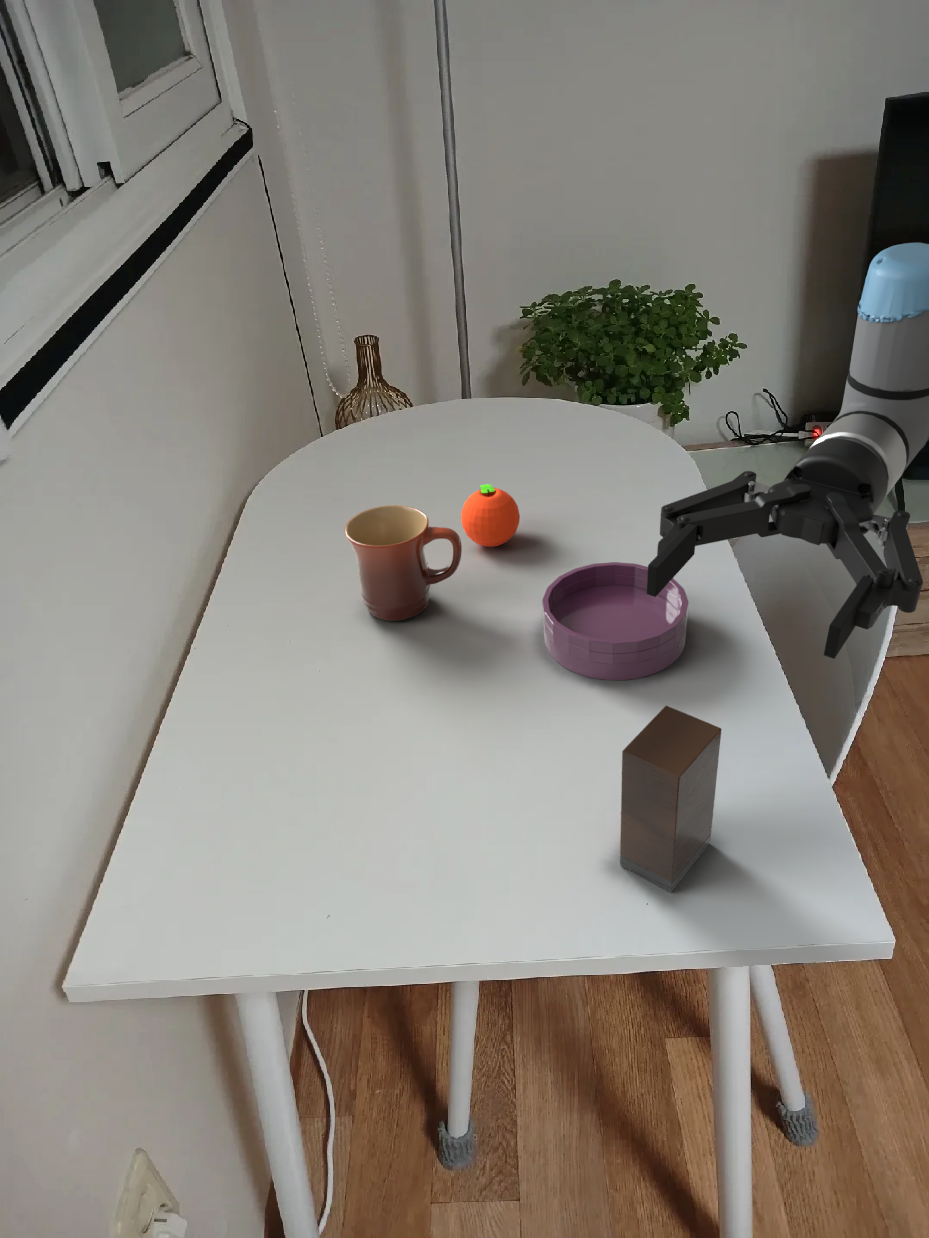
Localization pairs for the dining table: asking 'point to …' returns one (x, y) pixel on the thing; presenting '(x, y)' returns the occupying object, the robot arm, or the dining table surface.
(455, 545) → the mug
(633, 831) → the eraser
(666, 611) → the bowl
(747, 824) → the dining table surface
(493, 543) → the clementine
